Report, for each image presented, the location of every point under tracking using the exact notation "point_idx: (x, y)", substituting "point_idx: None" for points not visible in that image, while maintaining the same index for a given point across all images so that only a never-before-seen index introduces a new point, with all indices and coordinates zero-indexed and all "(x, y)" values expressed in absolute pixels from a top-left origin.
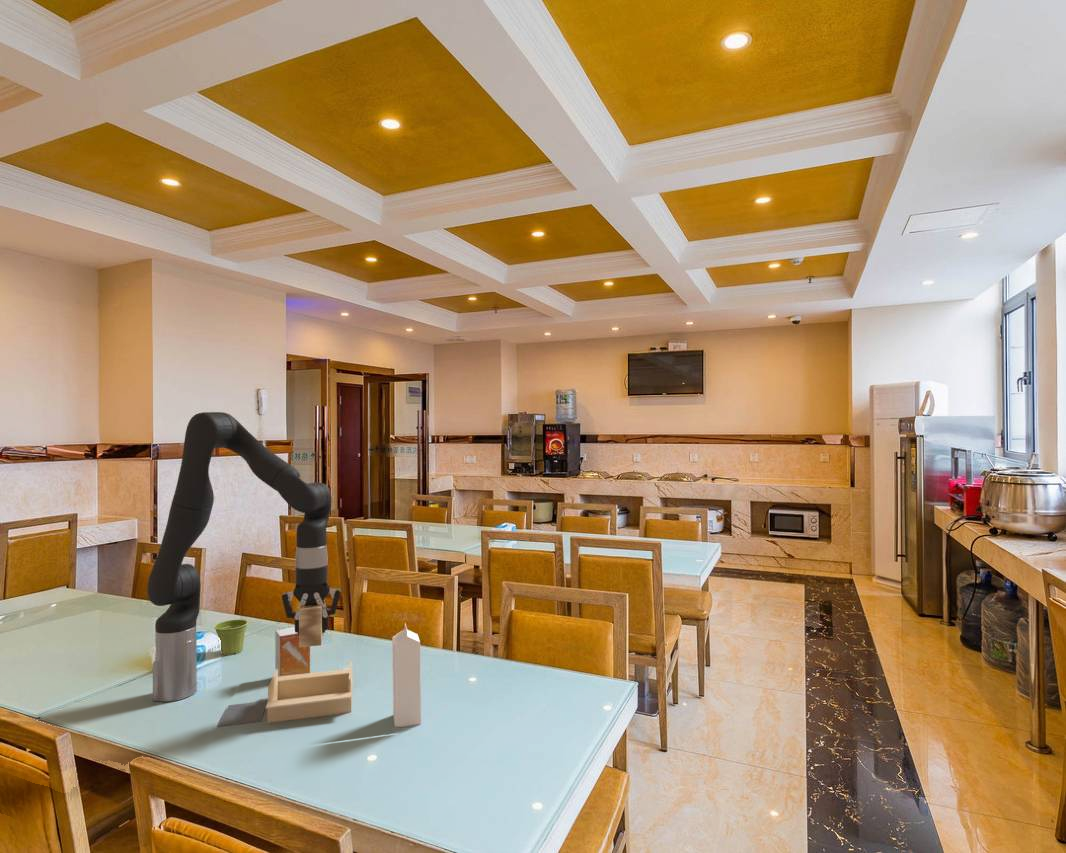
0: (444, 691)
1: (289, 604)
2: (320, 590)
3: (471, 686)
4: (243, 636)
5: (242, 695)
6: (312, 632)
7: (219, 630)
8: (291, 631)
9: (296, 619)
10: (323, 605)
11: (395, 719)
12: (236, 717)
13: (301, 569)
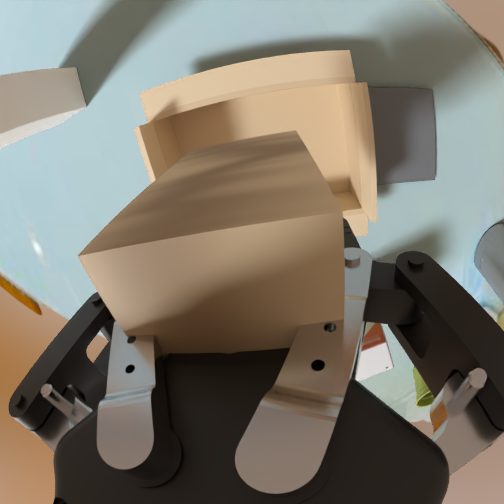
0: (49, 208)
1: (448, 343)
2: (105, 476)
3: (28, 223)
4: (417, 384)
5: (417, 228)
6: (217, 159)
7: None
8: (360, 364)
9: (352, 250)
10: (115, 333)
11: (66, 68)
12: (411, 116)
13: None
